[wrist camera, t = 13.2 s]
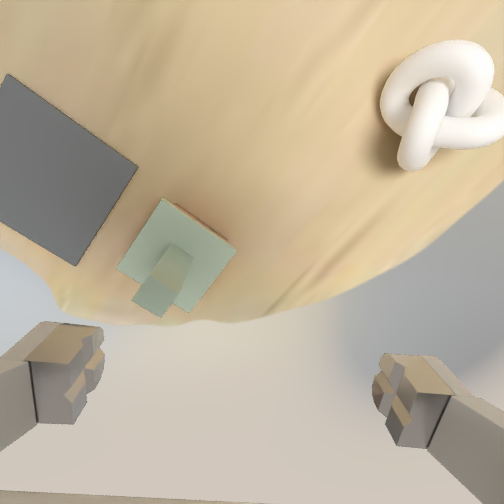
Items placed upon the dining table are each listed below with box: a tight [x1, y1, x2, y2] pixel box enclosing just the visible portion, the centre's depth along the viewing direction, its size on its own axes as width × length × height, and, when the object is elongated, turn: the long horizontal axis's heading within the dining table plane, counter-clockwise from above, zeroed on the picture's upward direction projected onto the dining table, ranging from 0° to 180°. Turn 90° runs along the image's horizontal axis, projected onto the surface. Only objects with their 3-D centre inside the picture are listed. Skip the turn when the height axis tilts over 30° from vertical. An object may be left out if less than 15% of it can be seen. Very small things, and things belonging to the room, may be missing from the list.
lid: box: [116, 198, 237, 318], centre depth 31 cm, size 10×10×10 cm
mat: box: [0, 74, 138, 266], centre depth 37 cm, size 16×16×1 cm
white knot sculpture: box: [380, 40, 504, 172], centre depth 31 cm, size 11×12×9 cm
